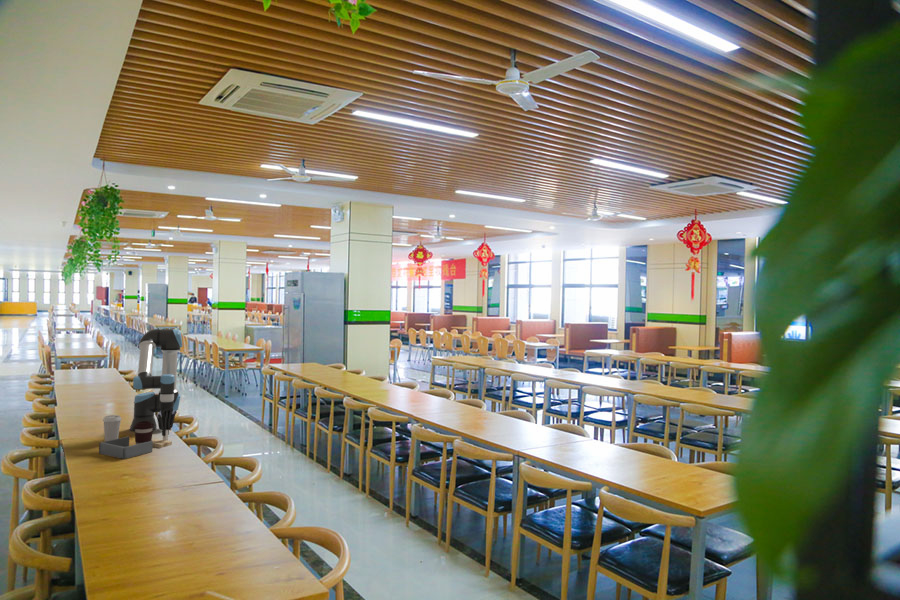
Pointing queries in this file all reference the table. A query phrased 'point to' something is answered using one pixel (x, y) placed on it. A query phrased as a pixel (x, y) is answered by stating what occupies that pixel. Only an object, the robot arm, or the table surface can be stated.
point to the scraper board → (161, 443)
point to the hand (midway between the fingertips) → (165, 440)
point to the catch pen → (124, 448)
